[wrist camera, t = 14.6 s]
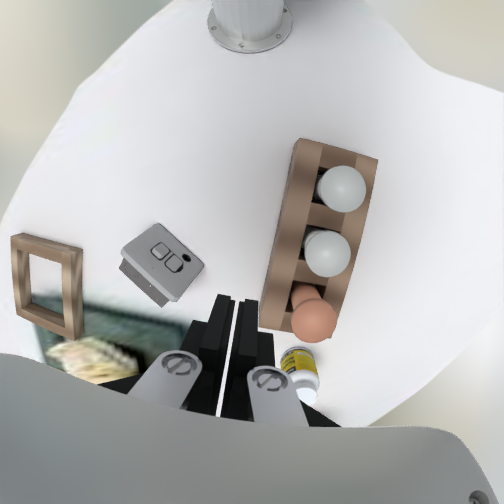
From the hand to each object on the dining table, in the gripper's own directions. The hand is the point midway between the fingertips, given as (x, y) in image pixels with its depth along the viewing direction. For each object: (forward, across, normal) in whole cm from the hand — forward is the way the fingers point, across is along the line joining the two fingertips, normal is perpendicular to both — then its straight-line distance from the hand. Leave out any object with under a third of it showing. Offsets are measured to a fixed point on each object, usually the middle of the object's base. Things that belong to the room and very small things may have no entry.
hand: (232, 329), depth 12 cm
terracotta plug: (+26, -8, +8) cm, 28 cm away
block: (+29, -8, +1) cm, 30 cm away
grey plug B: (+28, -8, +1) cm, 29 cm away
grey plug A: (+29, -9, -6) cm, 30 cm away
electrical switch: (+29, +11, +7) cm, 32 cm away
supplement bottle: (+28, -11, +21) cm, 37 cm away
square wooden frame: (+29, +35, +16) cm, 48 cm away
